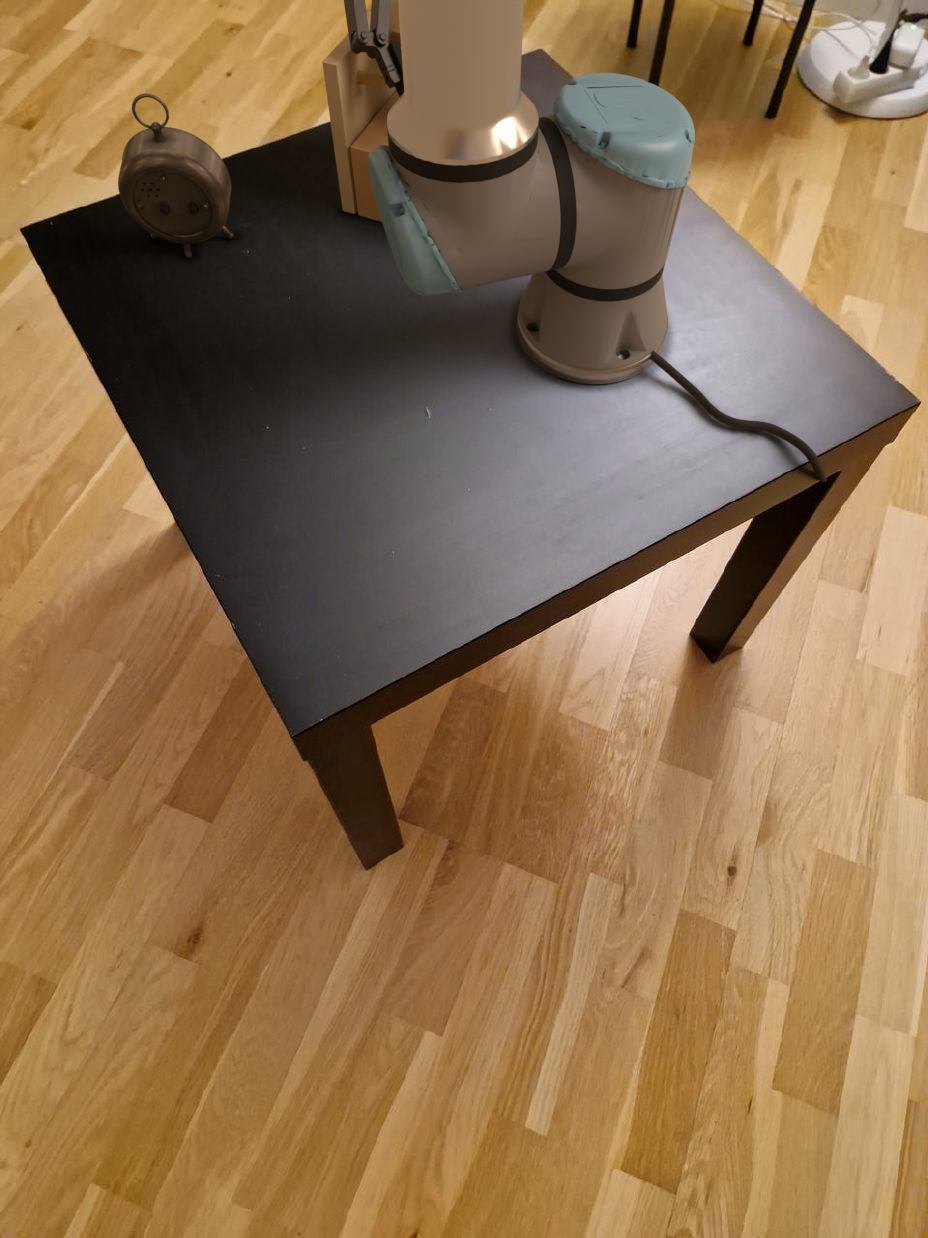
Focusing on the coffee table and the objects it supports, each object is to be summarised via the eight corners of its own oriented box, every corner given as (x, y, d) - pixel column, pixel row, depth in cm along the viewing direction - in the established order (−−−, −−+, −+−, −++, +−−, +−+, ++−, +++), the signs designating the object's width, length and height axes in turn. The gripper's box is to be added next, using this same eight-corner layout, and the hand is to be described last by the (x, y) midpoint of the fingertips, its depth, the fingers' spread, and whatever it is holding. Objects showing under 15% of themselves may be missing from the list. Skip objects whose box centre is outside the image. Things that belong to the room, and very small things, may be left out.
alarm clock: (244, 228, 93) (205, 76, 79) (239, 260, 91) (198, 109, 76) (147, 230, 93) (90, 78, 79) (139, 262, 90) (79, 111, 76)
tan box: (523, 166, 99) (533, 17, 85) (470, 247, 92) (472, 99, 78) (402, 134, 102) (393, -16, 88) (342, 210, 95) (321, 61, 81)
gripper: (451, -157, 84) (535, 74, 91) (249, -93, 77) (358, 150, 85) (484, -211, 77) (572, 43, 85) (265, -147, 70) (382, 123, 78)
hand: (465, 97), depth 85 cm, fingers open, 11 cm apart
